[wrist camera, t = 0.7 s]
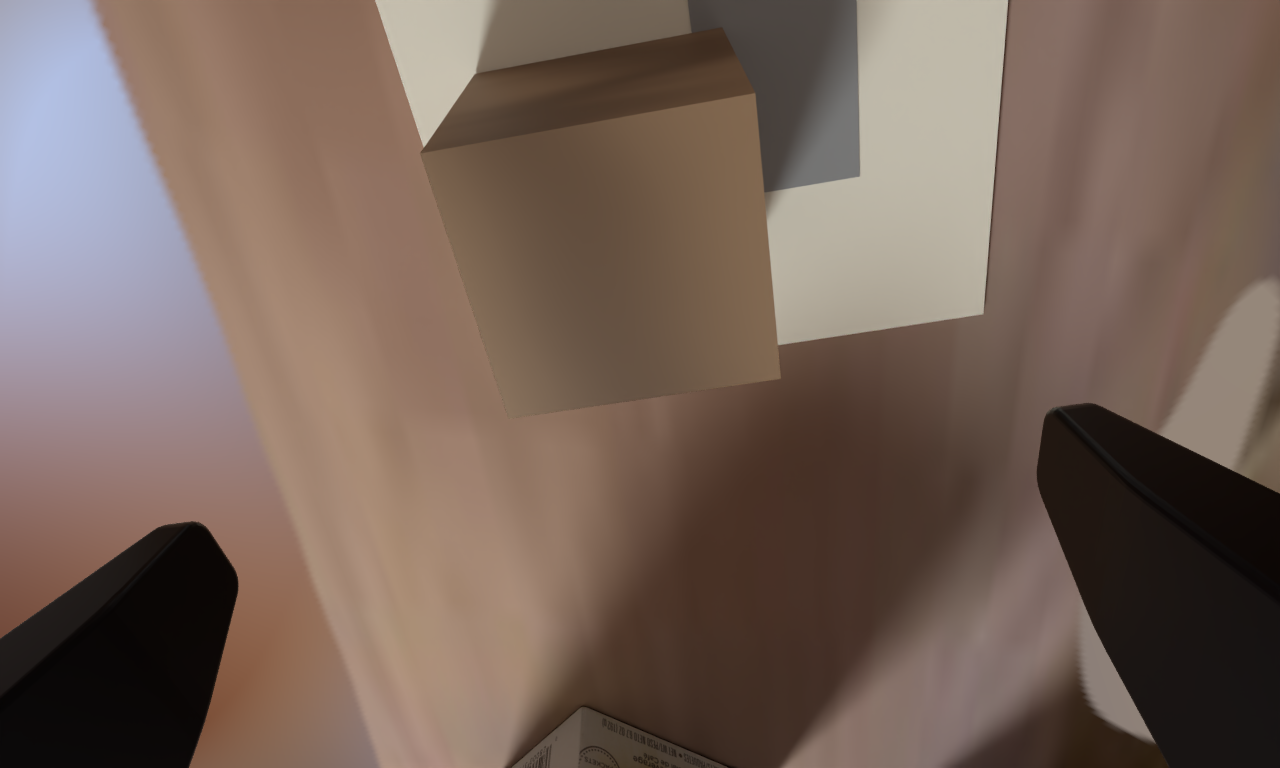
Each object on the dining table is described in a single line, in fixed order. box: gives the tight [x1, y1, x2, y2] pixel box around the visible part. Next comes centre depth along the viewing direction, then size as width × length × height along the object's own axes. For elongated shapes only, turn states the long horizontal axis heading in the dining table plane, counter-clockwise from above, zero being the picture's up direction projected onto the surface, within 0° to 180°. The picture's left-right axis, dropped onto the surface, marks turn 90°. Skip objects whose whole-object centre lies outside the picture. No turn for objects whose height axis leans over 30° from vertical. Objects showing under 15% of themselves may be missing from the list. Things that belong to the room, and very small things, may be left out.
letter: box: [375, 0, 1008, 345], centre depth 15 cm, size 12×16×1 cm
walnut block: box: [420, 27, 781, 419], centre depth 15 cm, size 5×5×5 cm
